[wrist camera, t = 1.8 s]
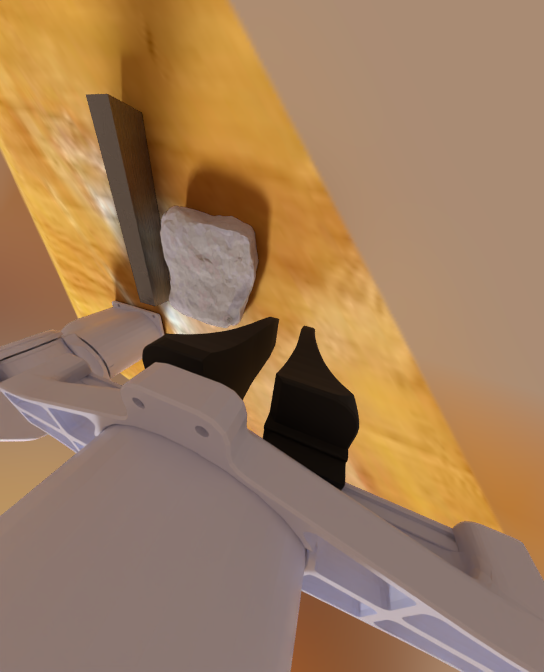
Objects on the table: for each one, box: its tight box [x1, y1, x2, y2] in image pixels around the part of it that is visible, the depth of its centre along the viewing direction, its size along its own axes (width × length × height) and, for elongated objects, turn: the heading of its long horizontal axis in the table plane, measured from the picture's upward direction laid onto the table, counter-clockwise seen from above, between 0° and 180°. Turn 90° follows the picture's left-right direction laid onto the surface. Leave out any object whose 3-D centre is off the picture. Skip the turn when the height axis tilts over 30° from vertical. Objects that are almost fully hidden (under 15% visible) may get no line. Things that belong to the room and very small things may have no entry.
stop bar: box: [86, 94, 171, 306], centre depth 21 cm, size 2×18×3 cm, turn 175°
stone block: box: [160, 206, 259, 328], centre depth 22 cm, size 12×5×10 cm
